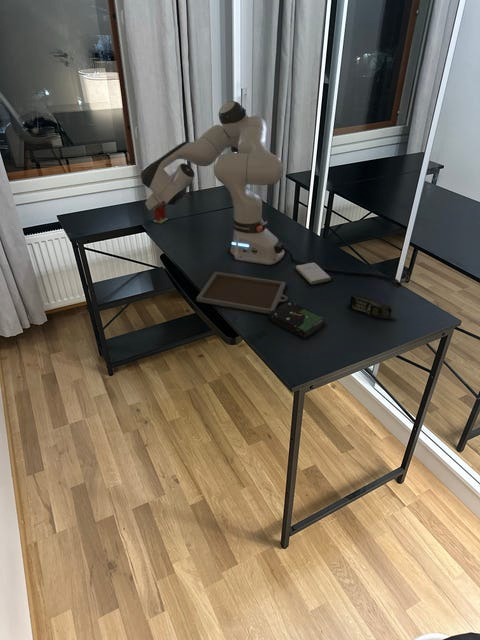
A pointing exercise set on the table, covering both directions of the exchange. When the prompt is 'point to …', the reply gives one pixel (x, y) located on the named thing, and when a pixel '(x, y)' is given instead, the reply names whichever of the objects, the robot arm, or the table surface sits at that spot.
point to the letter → (160, 213)
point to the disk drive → (296, 319)
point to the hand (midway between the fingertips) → (158, 206)
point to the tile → (161, 220)
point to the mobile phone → (370, 307)
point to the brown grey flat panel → (243, 292)
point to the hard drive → (313, 273)
